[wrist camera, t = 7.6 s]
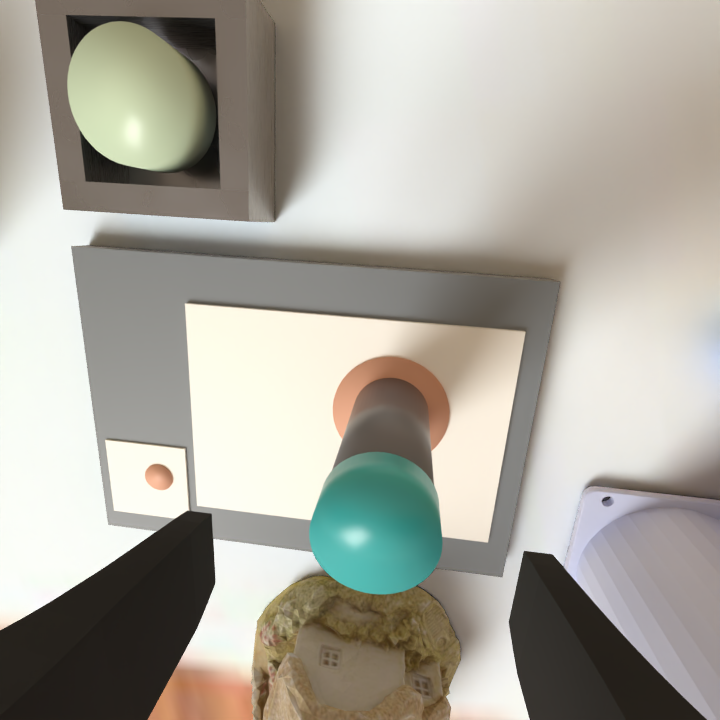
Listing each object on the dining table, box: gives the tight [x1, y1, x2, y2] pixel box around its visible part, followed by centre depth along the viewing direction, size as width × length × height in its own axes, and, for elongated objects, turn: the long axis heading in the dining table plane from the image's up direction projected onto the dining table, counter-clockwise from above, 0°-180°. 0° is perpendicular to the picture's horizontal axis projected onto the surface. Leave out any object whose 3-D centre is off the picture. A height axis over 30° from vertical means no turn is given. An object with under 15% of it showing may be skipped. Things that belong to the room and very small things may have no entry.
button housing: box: [35, 0, 275, 222], centre depth 16 cm, size 7×7×3 cm
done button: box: [67, 21, 216, 173], centre depth 15 cm, size 4×4×2 cm
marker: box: [309, 378, 443, 594], centre depth 15 cm, size 3×3×8 cm
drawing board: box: [71, 245, 560, 577], centre depth 20 cm, size 20×14×1 cm
